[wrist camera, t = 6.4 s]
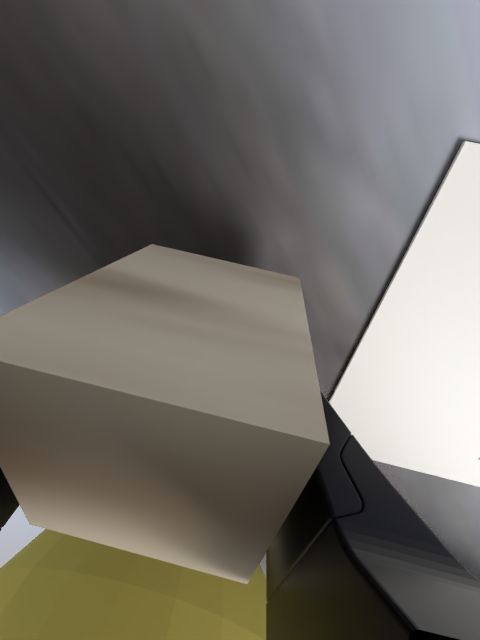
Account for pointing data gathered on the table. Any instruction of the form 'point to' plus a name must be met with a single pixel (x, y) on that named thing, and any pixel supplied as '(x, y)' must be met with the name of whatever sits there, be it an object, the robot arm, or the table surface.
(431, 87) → the table surface
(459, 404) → the letter
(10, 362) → the block
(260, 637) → the vase
